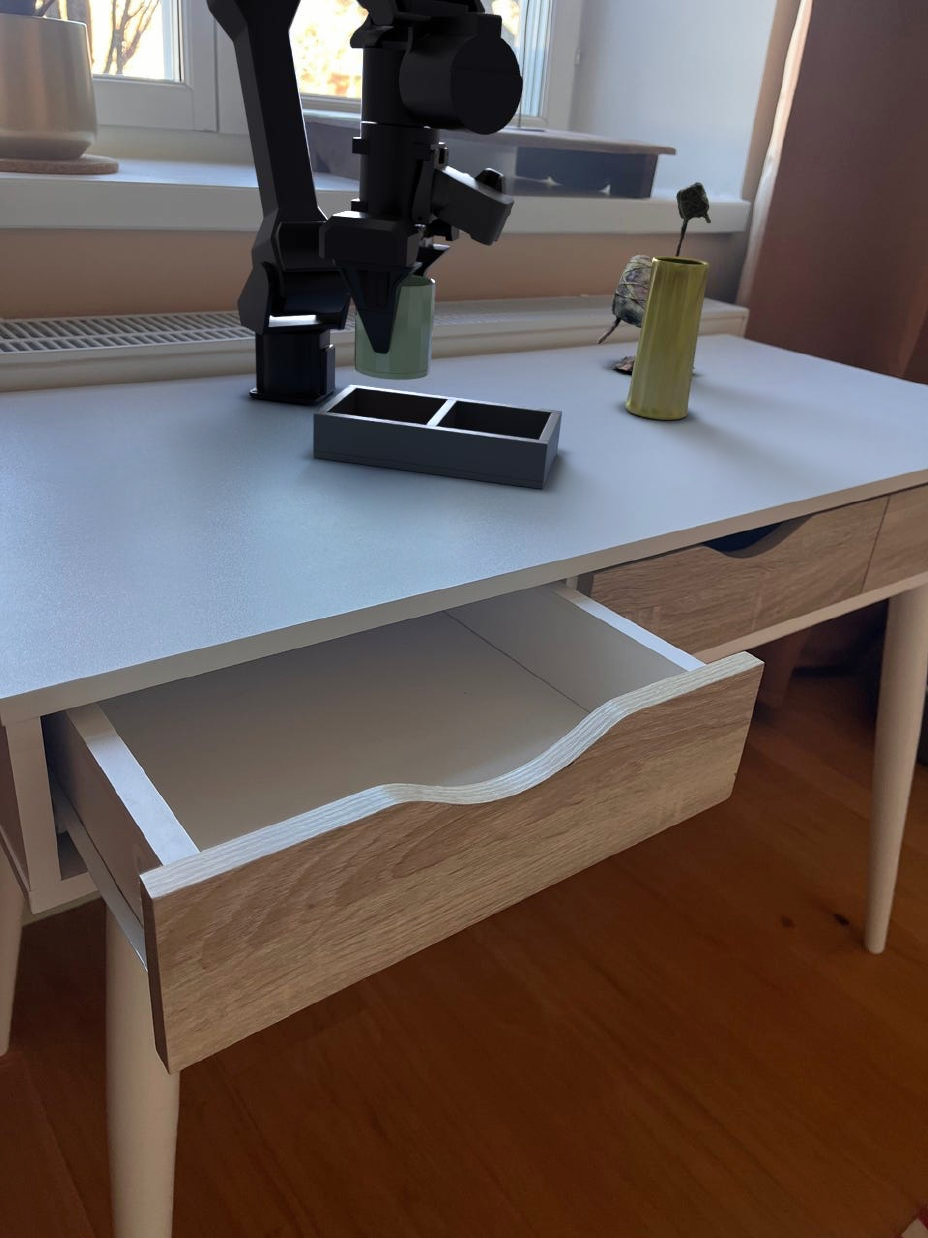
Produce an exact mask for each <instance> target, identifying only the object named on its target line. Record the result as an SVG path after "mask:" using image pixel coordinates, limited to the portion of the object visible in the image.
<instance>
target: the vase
mask: <svg viewBox="0 0 928 1238" xmlns="http://www.w3.org/2000/svg"><path fill="white" fill-rule="evenodd" d="M709 272H710V262H709V261H708V262H707V261H705V260H702V259H697V258H691V257H683V256H679V257H675V255H674V256H670V255H660V256H657V255H656V256H653V257H652V265H651V272H650V278H649V285H648V291H647V297H646V303H645V309H644V314H643V320H642V325H641V328H640V331H639V336H638V343H637V348H636V354H635V356H636V358H635V362H634V367H633V371H632V373H631V379H630V385H629V390H628V393H627V398H626V401H625V405H624V406H625V408H626V410H627V411H628V412H629V413H630V414H633V415H636V416H638V417H641V418H642V417H643V418H646V419H647V418H648V419H652V420H659V421H660V420H661V421H674V420H681V419H683V418H685V417H687V416H688V412H689V400H690V394H691V387H692V381H693V372H694V369H693V367H694V366H695V365H694V364H695V358H696V352H697V346H698V345H697V344H698V339H699V338H698V336H699V330H700V324H701V319H702V311H703V305H704V301H705V300H704V299H705V293H706V288H707V282H708V276H709Z"/></svg>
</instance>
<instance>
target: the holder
mask: <svg viewBox="0 0 928 1238" xmlns="http://www.w3.org/2000/svg"><path fill="white" fill-rule="evenodd" d="M312 415H313V418H312V419H313V422H312V423H313V426H312V427H313V428H312V432H313V433H312V434H313V436H312V438H313V439H312V441H313V442H312V443H313V444H312V448H313V449H312V450H313V451H312V452H313V453H312V455H313V458H315V459H321V460H328V461H335V462H343V463H351V464H357V465H366V466H370V467H371V466H373V467H378V468H379V467H380V468H385V469H387V468H388V469H394V470H402V471H409V472H415V473H423V474H429V475H438V476H445V477H452V478H457V479H466V480H474V481H479V482H480V481H481V482H488V483H495V484H496V483H497V484H501V485H509V486H510V485H511V486H517V487H524V488H531V489H539V490H542V489H544V486H545V484H546V482H547V479H548V476H549V474H550V471H551V469H552V466H553V465H554V461H555V459H556V456H557V454H558V451H559V442H560V432H561V424H562V416H563V411H562V410H555V409H547V408H539V407H531V406H522V405H517V404H516V405H515V404H508V403H500V402H494V401H493V402H491V401H484V400H476V399H467V398H461V397H451V396H444V395H436V394H429V393H420V392H414V391H406V390H405V391H404V390H397V389H390V388H389V389H388V388H381V387H374V386H365V385H357V384H348V386H346V387H345V388H344V389H343V390H342V391H340V392H339V393H338V394H336V395H335V396H334V397H333V398H331V399H330V400H328V402H326V403H325V404H323V405H322V406H321V407H319V409H317V410H316V411H314V412H313V414H312Z"/></svg>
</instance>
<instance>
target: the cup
mask: <svg viewBox="0 0 928 1238" xmlns="http://www.w3.org/2000/svg"><path fill="white" fill-rule="evenodd" d="M436 284H437V283H436V281H435V280H434V279H432V278H430V277H427V276H426V277H423V276H418V275H411V276H410V277H409V278H408V279H407V280H406V281H404V283H403V284H402V287H401V293H400V298H399V303H398V309H397V314H396V319H395V325H394V330H393V335H392V339H391V344H390V349H389V352H388V353H386V354H381V353H375V352H374V351H373V348H372V346H371V343H370V341H369V339H368V336H367V334H366V331H365V329H364V326H363V324H362V321H361V319H360V316H359V314H358V311H357V309H356V307H355V309H354V311H355V313H354V354H353V356H354V359H353V360H354V370H355V371H356V372H357V373H359V374H361V375H362V376H363V375H364V376H365V377H366V376H367V377H370V378H375V379H381V380H391V381H394V380H395V381H407V380H409V381H410V380H416V379H417V380H418V379H422V378H425V377H427V376H429V375H430V373H431V367H432V355H433V353H432V352H433V337H434V336H433V335H434V320H435V304H436V303H435V301H436V300H435V299H436Z"/></svg>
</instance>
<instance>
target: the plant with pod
mask: <svg viewBox="0 0 928 1238" xmlns="http://www.w3.org/2000/svg"><path fill="white" fill-rule="evenodd" d="M675 198H676V203H677V209H678V214H679V216H680V219H682V220H683V221H682V224H681V227H680V237H679V241H678V244H677V248H676V250H675V251H676V252H675V255H674V257H680V254H681V248H682V244H683V240H684V239H685V234H686V233H687V228H688V223H689V221H691V220H693V219H696V218H697V219H701V218H703V219H705V222H706V223H707V224H711V223H712V220H711V218H710V216H709V214H708V212H709V210H710V200H709V198H708V195H707V192H706V190H705V187H704V185H703V184H702V183H701V182H699V181H696V182H694V183H693V184H691V185H688V186H685V187H683V188H682V189H679V190H678V192H677V193H676V196H675ZM632 254H634V255H633V256H632V257H631V258H630V259H629V262H628V263H627V265H626V266H625V268H624V270H623V271H622V273H621V276H620V279H619V282H618V285H617V287H616V289H615V291H614V294H613V297H612V299H611V313H612V316H615V320H614V321H613V322H612V323H611V324H610V326H608V328H607V329H606V330H605V332H604V333H603V334H602V335H601V336H600V337H599V338H598V339H597V341H596V344H597V345H601V344H602V343H603V342H604V341H605V340H606V339H607V338H608V337H610V335H611V334H612V333H613V332H614V331H615V330H616V329H617V328H618V327H619V325H620V323H621V321H623V322H624V323H627V324H628V325H633V326H635V327H636V328H638V329H641V325H642V320H643V314H644V309H645V303H646V297H647V291H648V285H649V278H650V272H651V265H652V259H653V257H650V256H648V255H645V254H638V253H637V252H632ZM637 254H638V255H637ZM624 356H625V357H623V358H621V359H620V360H619V362H618V363H617V364H616V365H613V368H614V369H618V370H621V369H622V370H624V371H630V372H633V367H634V362H635V358H636V355H630V356H629V355H628V356H626V355H624ZM695 369H696V368H695V367H694V366H693V370H695Z"/></svg>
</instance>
